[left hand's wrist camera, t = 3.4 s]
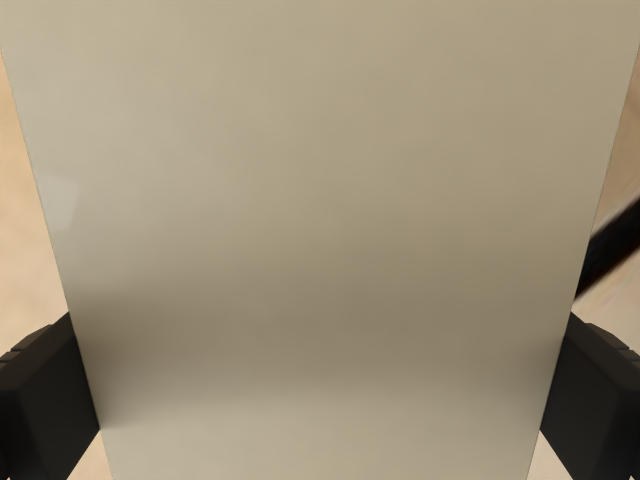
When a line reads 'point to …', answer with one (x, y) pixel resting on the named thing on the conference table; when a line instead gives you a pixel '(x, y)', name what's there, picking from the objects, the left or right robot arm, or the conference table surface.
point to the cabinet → (319, 221)
